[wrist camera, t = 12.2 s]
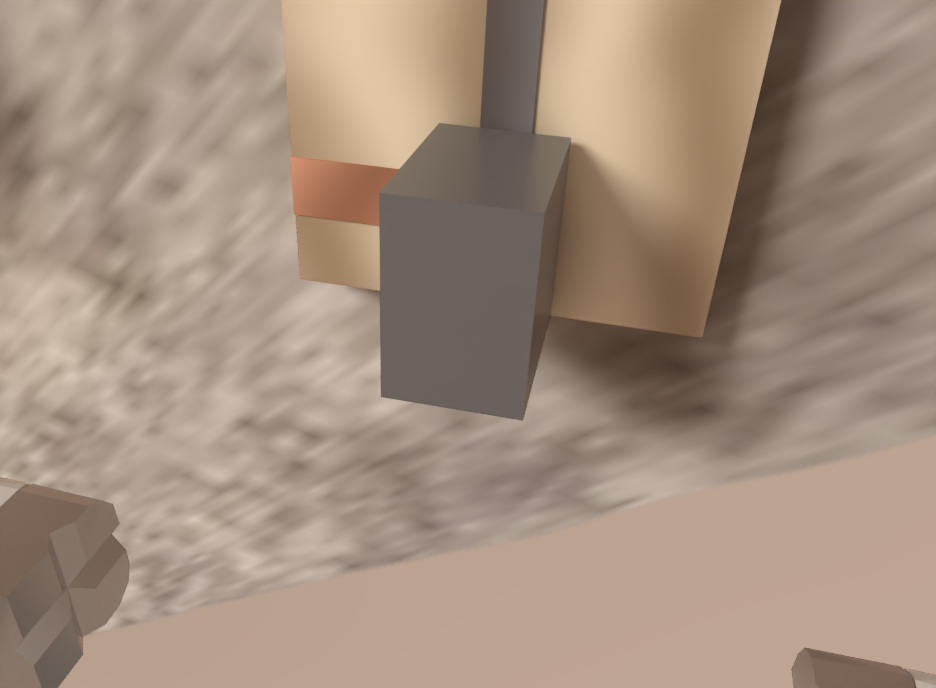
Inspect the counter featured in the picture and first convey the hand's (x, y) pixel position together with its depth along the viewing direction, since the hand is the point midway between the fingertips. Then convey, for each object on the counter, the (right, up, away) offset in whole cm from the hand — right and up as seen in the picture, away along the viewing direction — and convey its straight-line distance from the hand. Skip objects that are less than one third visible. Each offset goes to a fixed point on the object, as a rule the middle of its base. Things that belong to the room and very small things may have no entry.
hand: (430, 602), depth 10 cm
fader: (+1, +7, +16) cm, 18 cm away
